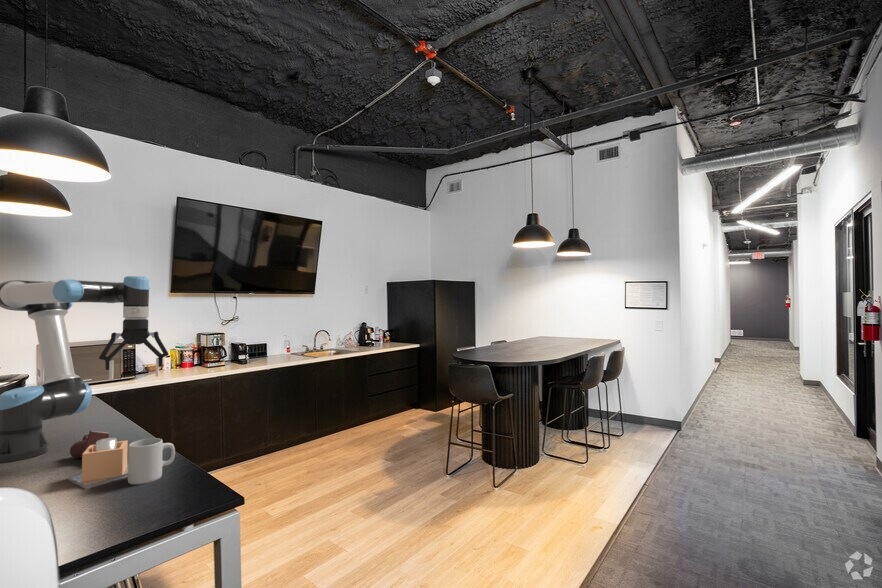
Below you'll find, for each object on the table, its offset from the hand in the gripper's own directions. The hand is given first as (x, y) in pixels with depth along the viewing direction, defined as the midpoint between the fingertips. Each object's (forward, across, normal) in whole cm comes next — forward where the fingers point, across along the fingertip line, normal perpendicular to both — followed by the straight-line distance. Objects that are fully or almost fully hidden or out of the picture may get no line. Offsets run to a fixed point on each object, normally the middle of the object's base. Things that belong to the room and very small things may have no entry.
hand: (134, 377), depth 152 cm
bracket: (+27, -10, -3) cm, 29 cm away
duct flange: (+27, -4, -23) cm, 36 cm away
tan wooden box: (+26, -4, -23) cm, 35 cm away
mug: (+27, +9, -31) cm, 42 cm away
